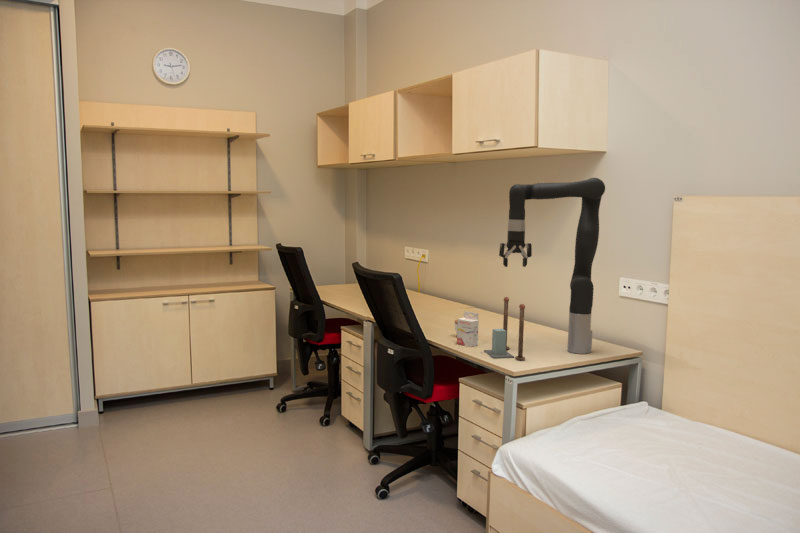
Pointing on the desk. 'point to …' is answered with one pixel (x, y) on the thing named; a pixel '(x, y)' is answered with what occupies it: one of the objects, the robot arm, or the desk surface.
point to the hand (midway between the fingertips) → (514, 266)
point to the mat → (498, 355)
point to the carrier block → (499, 341)
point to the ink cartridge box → (468, 329)
